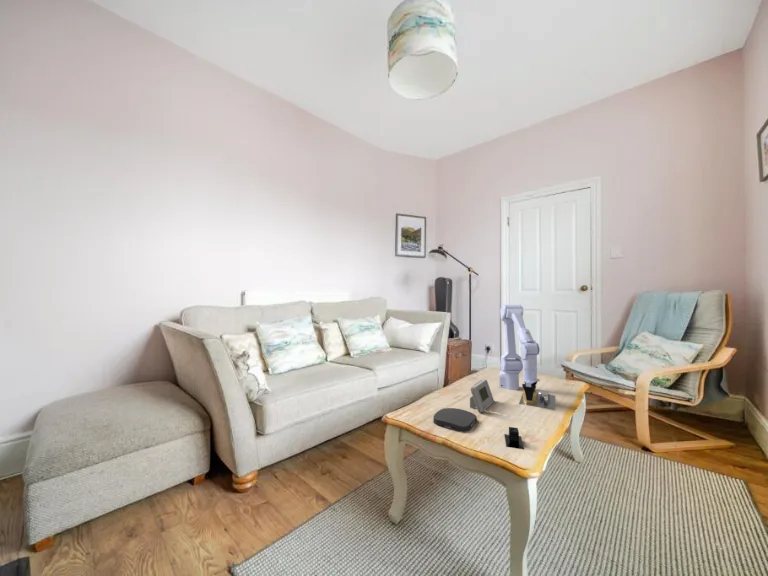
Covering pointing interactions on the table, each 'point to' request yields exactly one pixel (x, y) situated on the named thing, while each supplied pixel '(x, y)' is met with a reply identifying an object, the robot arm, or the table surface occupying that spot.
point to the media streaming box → (455, 419)
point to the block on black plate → (513, 439)
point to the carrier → (542, 400)
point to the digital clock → (481, 396)
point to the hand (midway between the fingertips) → (529, 398)
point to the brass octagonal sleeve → (532, 399)
